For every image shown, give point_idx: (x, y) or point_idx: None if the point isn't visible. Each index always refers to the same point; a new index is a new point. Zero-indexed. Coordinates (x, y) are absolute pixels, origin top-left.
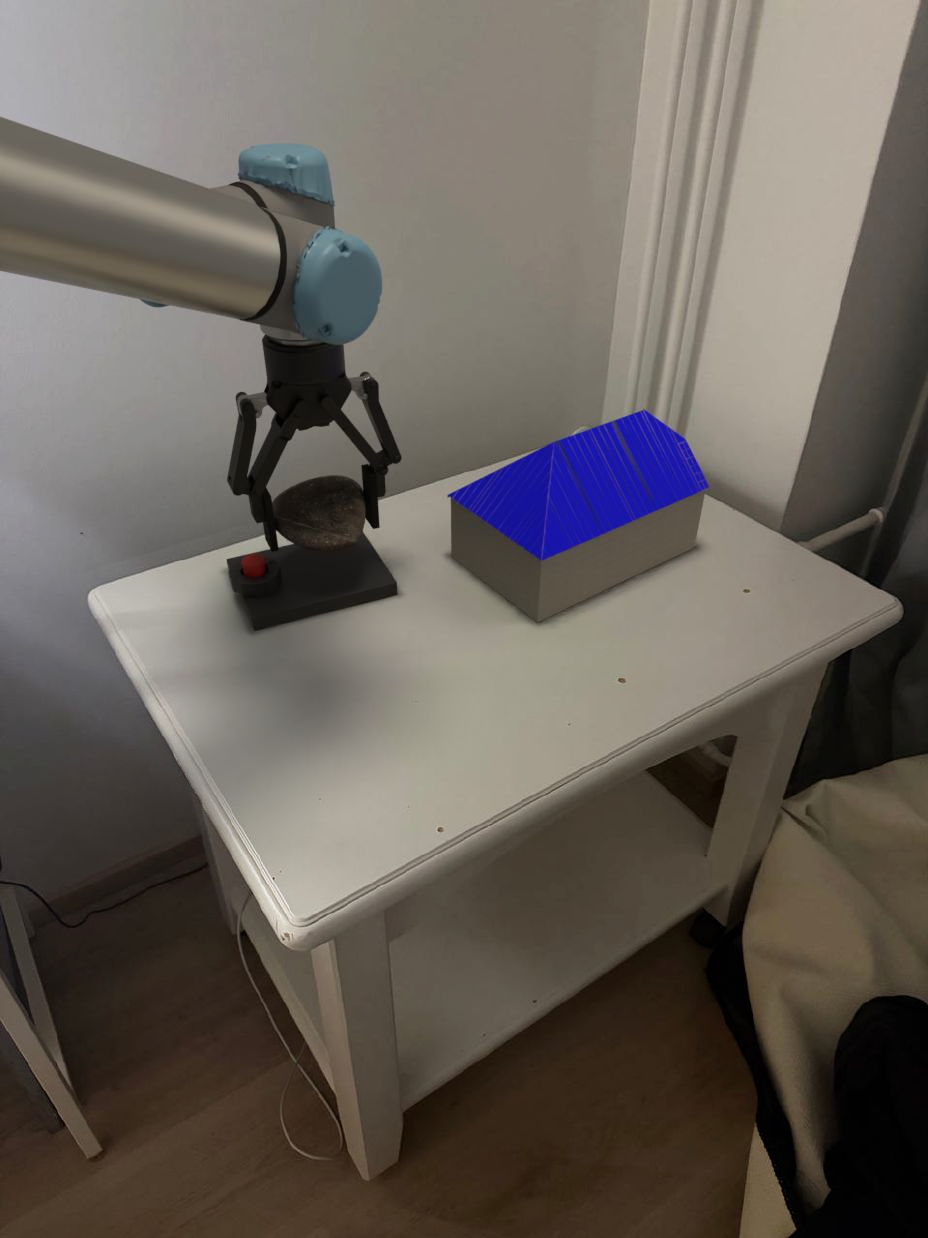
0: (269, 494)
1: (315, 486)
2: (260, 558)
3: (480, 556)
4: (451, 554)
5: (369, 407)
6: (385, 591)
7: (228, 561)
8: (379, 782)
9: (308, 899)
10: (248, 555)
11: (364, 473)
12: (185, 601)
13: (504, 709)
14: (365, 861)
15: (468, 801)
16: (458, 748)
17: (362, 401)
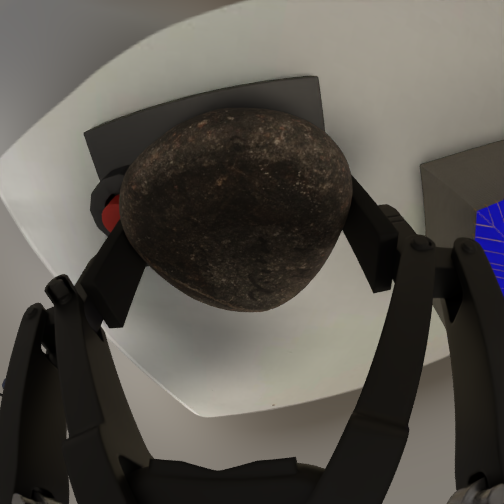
0: (117, 320)
1: (229, 190)
2: None
3: (441, 238)
4: (421, 167)
5: (455, 470)
6: None
7: (86, 139)
8: (248, 388)
9: (206, 414)
10: (108, 206)
11: (372, 247)
12: (58, 188)
13: (346, 360)
14: (233, 409)
15: (293, 398)
16: (303, 379)
17: (495, 431)
